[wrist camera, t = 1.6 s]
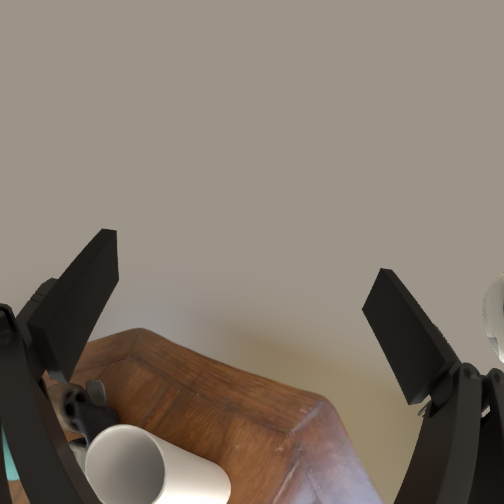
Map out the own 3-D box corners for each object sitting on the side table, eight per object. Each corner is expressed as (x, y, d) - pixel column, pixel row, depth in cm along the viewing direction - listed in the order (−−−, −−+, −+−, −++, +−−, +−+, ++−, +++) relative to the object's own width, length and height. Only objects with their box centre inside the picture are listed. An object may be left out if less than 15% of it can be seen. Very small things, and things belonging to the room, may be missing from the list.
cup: (164, 464, 28) (83, 428, 18) (221, 453, 29) (159, 416, 19) (176, 517, 22) (89, 511, 12) (238, 509, 22) (177, 512, 12)
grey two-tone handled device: (116, 514, 22) (56, 503, 14) (85, 504, 22) (26, 488, 15) (125, 393, 38) (80, 355, 30) (98, 393, 38) (52, 356, 31)
